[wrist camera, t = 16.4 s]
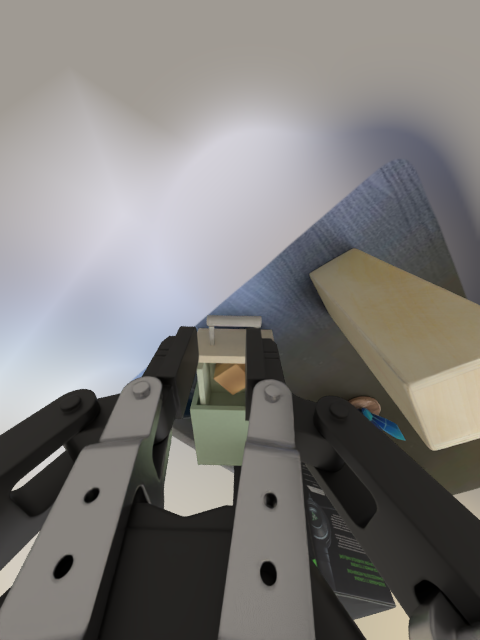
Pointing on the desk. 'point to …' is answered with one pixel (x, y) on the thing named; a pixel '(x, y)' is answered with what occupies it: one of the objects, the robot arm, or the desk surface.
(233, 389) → the block
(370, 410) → the gemstone
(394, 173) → the desk surface
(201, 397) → the drawer
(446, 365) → the toy refrigerator
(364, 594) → the headset box
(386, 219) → the desk surface
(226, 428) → the cabinet
